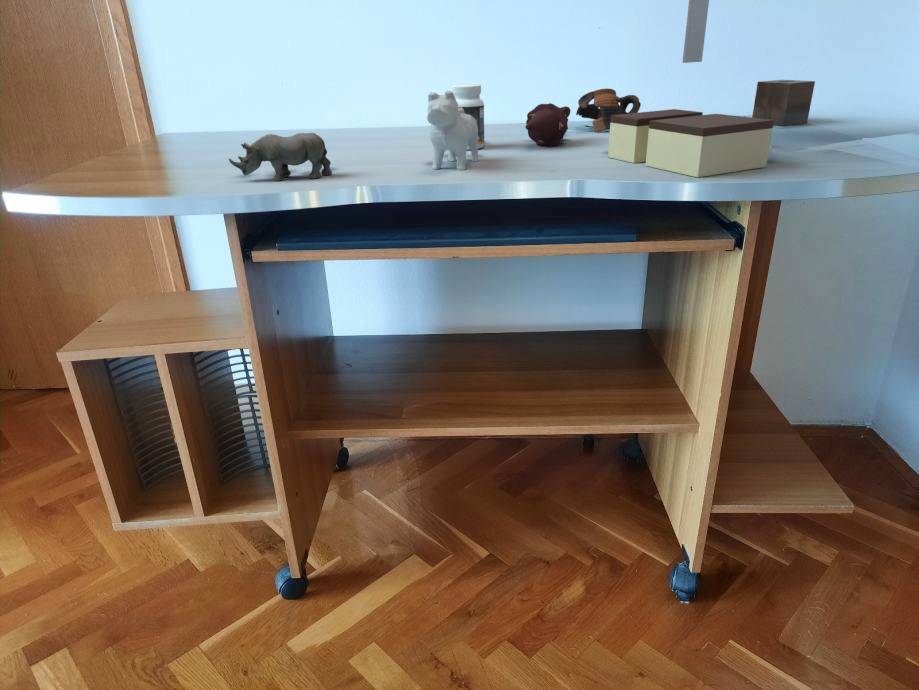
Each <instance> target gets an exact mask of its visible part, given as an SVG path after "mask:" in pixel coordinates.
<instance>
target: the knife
mask: <svg viewBox="0 0 919 690" xmlns="http://www.w3.org/2000/svg"><path fill="white" fill-rule="evenodd" d="M709 5H710V0H688V6H687V17H686V25H685V36H684V45H683V54H682V63H683V64H691V63H702V62H703V56H704V55H703V54H704V46H705V38H706V29H707V21H708V12H709Z"/></svg>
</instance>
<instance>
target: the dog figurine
mask: <svg viewBox="0 0 919 690" xmlns="http://www.w3.org/2000/svg"><path fill="white" fill-rule="evenodd" d="M427 101H428V104H427V116H426V119H427V122H428V124H430V128H429V129H430V130H429V138H430V142H431V145H432V147H433V159H432V166H431V168H432V170H441V169H442V164H443V160H444V155H445V153H446V151H448V154H447V155H448V156H447V161H448V162H456V170H459V171H463V170H466V169H467V168H466V164H467V163H466V160H467V150H466V148H467V146H469V147H470V153H471V161H472V162H479V149H478V127H477V123H476V122H475V120H474V118H473V117H472V116H471V115H468V114H465V113H464V109H462V108H460V109H458V103H457V101H456V99H455V96H454V94H453V91H451V90H446V91H445V92H444V94H438V93H437V92H432V91H431V92H429V93H428V95H427Z"/></svg>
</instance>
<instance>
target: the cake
mask: <svg viewBox="0 0 919 690" xmlns="http://www.w3.org/2000/svg"><path fill="white" fill-rule="evenodd" d="M773 123H774V120H768V119H759V118H752V117H750V116H740V115H733V114H732V115H730V114H724V113H723V114H722V113H709V114H703V115H699V116H690V117H681V118H671V119H662V120H652V121H650V122H649V133H648V144H647V155H646V162H645V166H646V167H649V168H654V169H657V170H658V169H659V170H662V171H666V172H671V173H675V174H679V175H680V174H681V175H685V176H689V177H694V178H704V177H710V176H711V177H712V176H715V175H716V176H717V175H723V174H730V173H736V172H742V171H749V170H755V169H763V168H766V167H767V163H768V157H769V150H770V146H771V140H772V133H773V128H774V126H773Z"/></svg>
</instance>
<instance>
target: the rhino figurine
mask: <svg viewBox="0 0 919 690" xmlns="http://www.w3.org/2000/svg"><path fill="white" fill-rule="evenodd" d="M240 145H241V147H242V148H243V149H244V150H245V151H246V155H245V156H240V155H238V156H237V159H238V160H239V161H240V162H239V161H235V160H232V159H231V158H230V157H229V158H228V161H229V163H230V164H231V165H232V166H234V167H235V168H237V169H239V170H240V171H241V172H242V174H243V175H244V176H245V177H246V176H249V175H250V174H252V173H253V172H255V171H257V170H258V169H259V168H260V167H261V166H262V165H261V164H262V163H263V162H270V164H271V166H272V168H273V169H274V172H275V175H274V176H273V177H272V181H274V182H279V181H283V180H285V178H287V177H289V176H291V174H292V172H291V170H290V169H289V166H299V165H300V166H301V165H302V164H304V163H306V162H307V161H309V163H311V172H310V173H309V174H308V178H309V179H318V178H321V177H322V176H328V175H332V174H333V170H332V169H331V167H330V166H331V164H332V163H331V160H330V159H329V158H327V154H328V149H327V148H326V144H325V141H324V139H323V138H322V137H321V136H320V135H318V134H317V133H315V132H299V133H296V134H293V135H291V136H280V135H278V134H271V133H270V134H269V133H268V134H266V135H263V136H261V137H260V138H258V139H257V140H255V141H254V142H252V143H251V144H248V143H246V142H243V143H241V144H240ZM322 168H323V169H322ZM320 170H321V172H320Z"/></svg>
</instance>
